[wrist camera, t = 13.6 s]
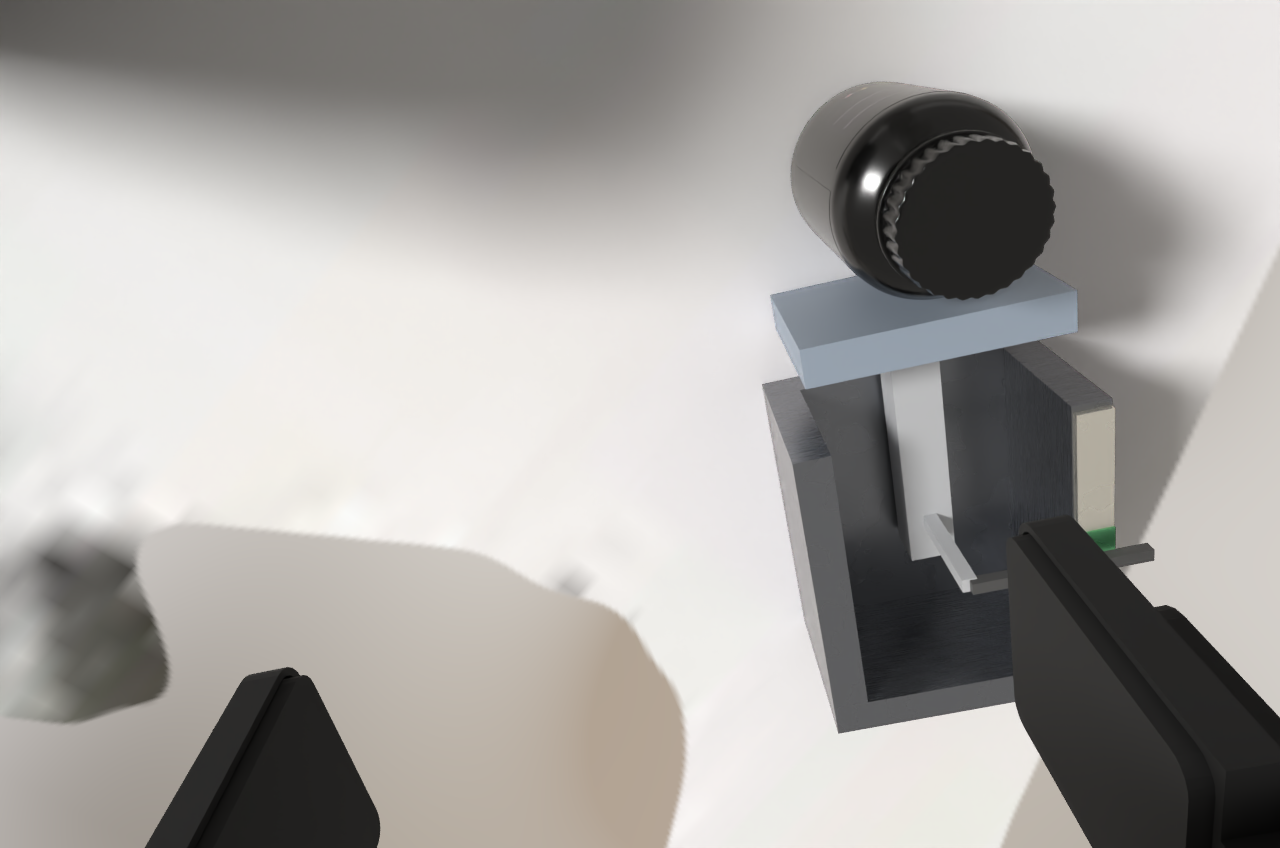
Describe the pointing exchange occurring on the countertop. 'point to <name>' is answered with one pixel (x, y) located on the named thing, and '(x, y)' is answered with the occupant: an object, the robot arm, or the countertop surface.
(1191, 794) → the robot arm
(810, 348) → the gauge plunger
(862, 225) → the supplement bottle
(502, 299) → the countertop surface
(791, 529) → the box
